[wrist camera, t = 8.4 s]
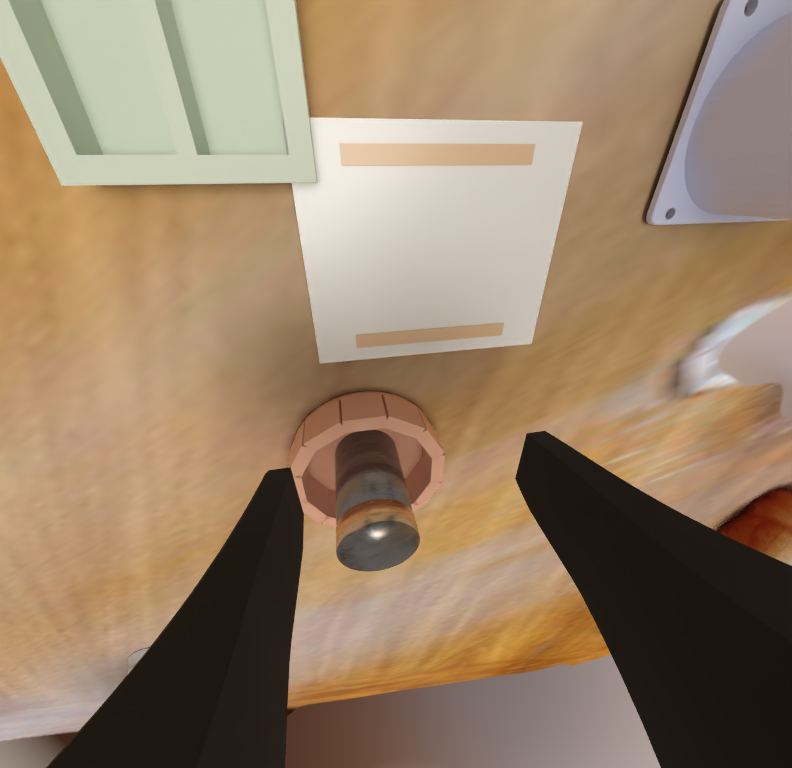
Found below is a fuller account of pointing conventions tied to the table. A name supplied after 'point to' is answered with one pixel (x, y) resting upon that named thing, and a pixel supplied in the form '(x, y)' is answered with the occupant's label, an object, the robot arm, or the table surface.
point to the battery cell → (372, 504)
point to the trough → (163, 89)
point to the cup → (362, 413)
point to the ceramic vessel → (765, 525)
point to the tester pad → (430, 232)
